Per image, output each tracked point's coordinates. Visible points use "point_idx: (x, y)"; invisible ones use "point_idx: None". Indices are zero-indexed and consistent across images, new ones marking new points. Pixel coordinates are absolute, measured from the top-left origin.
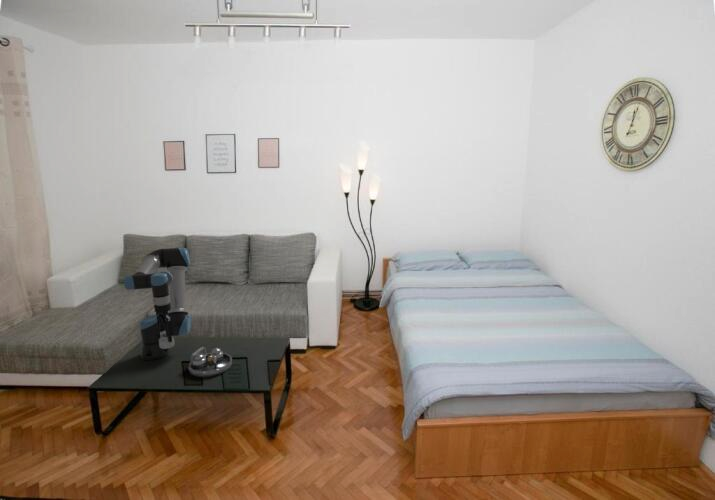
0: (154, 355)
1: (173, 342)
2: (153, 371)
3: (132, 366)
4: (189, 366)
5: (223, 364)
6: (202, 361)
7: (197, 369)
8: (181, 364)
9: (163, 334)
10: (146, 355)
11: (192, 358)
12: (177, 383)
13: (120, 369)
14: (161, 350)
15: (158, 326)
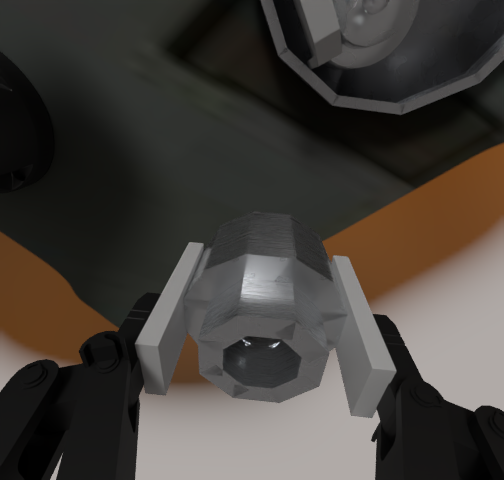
0: (33, 156)
1: (325, 254)
2: (173, 208)
3: (66, 238)
4: (332, 96)
5: None
6: (416, 8)
7: (377, 63)
8: (203, 79)
9: (216, 368)
10: (12, 183)
11: (335, 56)
12: (367, 197)
13: (67, 272)
14: (5, 113)
15: (49, 477)
